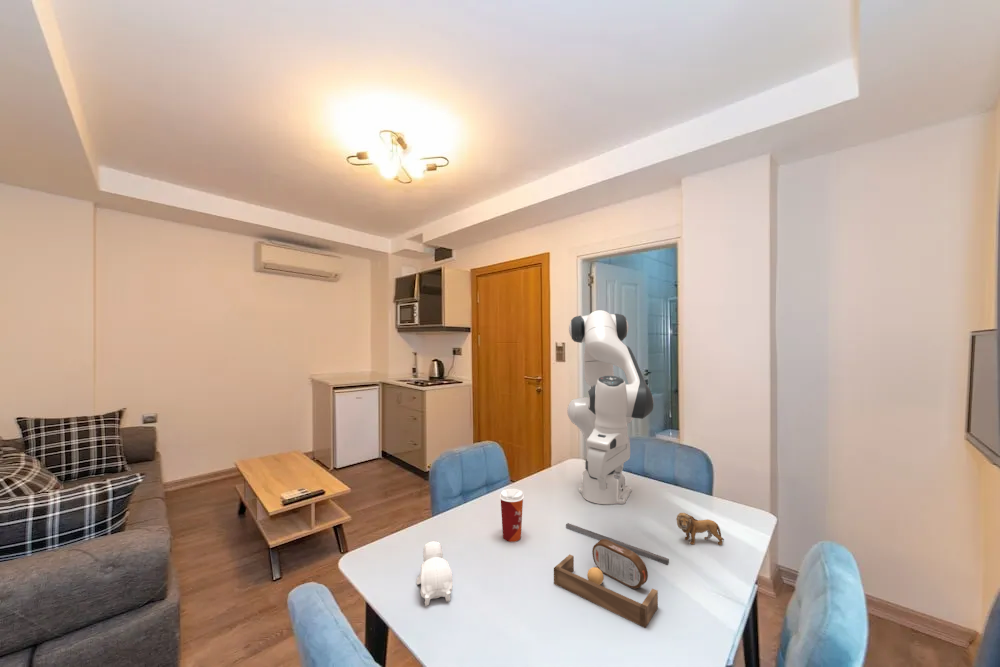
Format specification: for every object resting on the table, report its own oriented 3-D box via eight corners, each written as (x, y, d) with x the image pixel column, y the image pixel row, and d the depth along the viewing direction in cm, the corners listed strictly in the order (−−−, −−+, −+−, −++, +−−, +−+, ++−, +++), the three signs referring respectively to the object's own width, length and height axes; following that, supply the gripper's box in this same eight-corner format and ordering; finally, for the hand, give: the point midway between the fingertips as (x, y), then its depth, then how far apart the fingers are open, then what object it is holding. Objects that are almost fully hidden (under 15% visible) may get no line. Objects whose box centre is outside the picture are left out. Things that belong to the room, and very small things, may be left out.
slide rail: (567, 526, 128) (567, 522, 128) (668, 563, 107) (668, 558, 107) (565, 528, 127) (565, 524, 127) (667, 565, 106) (667, 560, 106)
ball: (581, 576, 99) (590, 587, 95) (588, 562, 99) (598, 572, 95) (593, 579, 100) (602, 590, 97) (599, 565, 101) (609, 576, 97)
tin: (648, 590, 95) (648, 556, 95) (642, 596, 93) (642, 561, 93) (597, 564, 107) (597, 533, 107) (590, 568, 105) (590, 537, 105)
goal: (569, 569, 104) (569, 554, 104) (657, 607, 89) (657, 590, 89) (553, 583, 98) (553, 567, 98) (645, 627, 83) (645, 609, 83)
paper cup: (522, 545, 116) (522, 498, 117) (497, 542, 118) (497, 496, 118) (525, 532, 124) (525, 488, 124) (502, 529, 126) (502, 486, 126)
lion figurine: (682, 547, 115) (681, 517, 115) (672, 538, 120) (672, 509, 120) (729, 545, 116) (728, 515, 116) (717, 536, 121) (717, 507, 121)
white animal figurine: (454, 609, 94) (446, 555, 107) (456, 584, 91) (448, 532, 104) (418, 616, 91) (415, 560, 105) (419, 591, 88) (415, 536, 102)
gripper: (615, 425, 118) (615, 469, 118) (583, 441, 102) (583, 492, 103) (636, 428, 114) (635, 475, 114) (605, 446, 98) (605, 500, 99)
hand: (610, 483), depth 108 cm, fingers open, 8 cm apart
